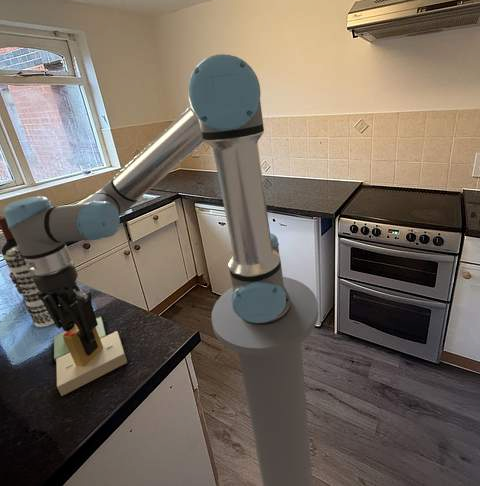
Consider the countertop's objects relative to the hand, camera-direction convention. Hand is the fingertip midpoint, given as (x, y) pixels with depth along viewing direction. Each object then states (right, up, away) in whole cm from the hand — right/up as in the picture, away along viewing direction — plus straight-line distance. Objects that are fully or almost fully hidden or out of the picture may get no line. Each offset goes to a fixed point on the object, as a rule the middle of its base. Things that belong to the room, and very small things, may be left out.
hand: (87, 349), depth 73 cm
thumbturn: (0, -2, +1) cm, 2 cm away
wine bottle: (-39, +4, +34) cm, 52 cm away
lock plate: (0, -5, +2) cm, 5 cm away
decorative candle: (-25, 0, +21) cm, 33 cm away
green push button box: (-9, -2, +11) cm, 14 cm away
